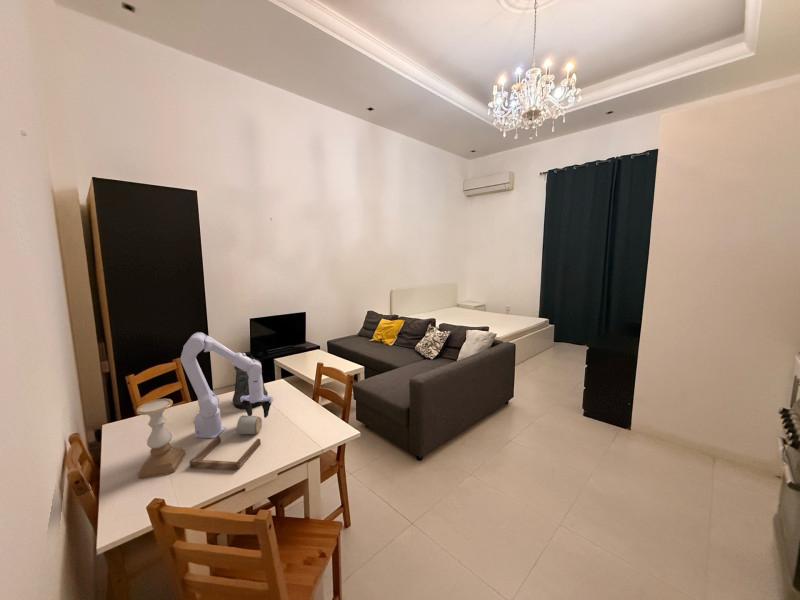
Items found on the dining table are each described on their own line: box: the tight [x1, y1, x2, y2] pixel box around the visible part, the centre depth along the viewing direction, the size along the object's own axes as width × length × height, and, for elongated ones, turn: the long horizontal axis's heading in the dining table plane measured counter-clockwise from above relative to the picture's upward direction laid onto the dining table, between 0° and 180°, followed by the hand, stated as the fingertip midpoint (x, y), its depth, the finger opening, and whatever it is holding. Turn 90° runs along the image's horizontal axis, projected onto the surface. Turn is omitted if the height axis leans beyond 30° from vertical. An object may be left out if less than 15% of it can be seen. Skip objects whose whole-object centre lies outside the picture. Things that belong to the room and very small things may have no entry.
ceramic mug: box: [236, 414, 263, 435], centre depth 135 cm, size 11×8×8 cm
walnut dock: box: [189, 436, 262, 471], centre depth 119 cm, size 18×15×2 cm
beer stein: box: [231, 353, 269, 411], centre depth 160 cm, size 16×19×25 cm
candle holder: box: [136, 398, 186, 479], centre depth 112 cm, size 11×11×24 cm
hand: (258, 416), depth 141 cm, fingers open, 7 cm apart
